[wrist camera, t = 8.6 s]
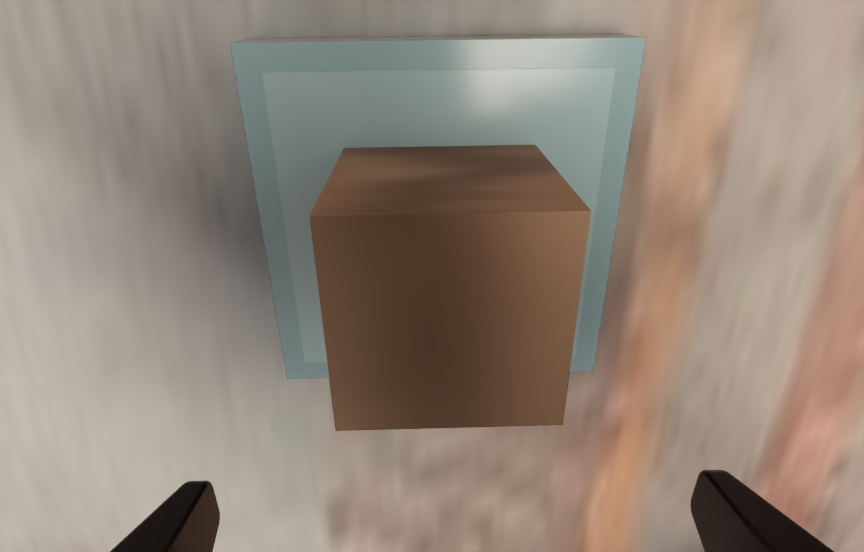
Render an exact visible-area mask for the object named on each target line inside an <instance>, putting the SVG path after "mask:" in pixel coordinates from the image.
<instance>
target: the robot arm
mask: <svg viewBox="0 0 864 552" xmlns="http://www.w3.org/2000/svg"><path fill="white" fill-rule="evenodd" d="M691 512H692V516H693V519H694V521H695V524H696V527H697V530H698V533H699V536H700V539H701V542H702V545H703V548H704V550H705V552H834V551H832V550H831V549H830V548H828V547H827V546H826V545H824V544H823V543H822V542H820V541H819V540H818V539H816V538H815V537H814V536H812V535H811V534H810V533H808V532H807V531H806V530H804V529H803V528H802V527H800V526H799V525H798V524H796V523H795V522H794V521H792V520H791V519H790V518H788V517H787V516H786V515H784V514H783V513H782V512H780V511H779V510H778V509H776V508H775V507H774V506H772V505H771V504H770V503H768V502H767V501H766V500H764V499H763V498H762V497H760V496H759V495H758V494H756V493H755V492H754V491H752V490H751V489H750V488H748V487H747V486H746V485H744V484H743V483H742V482H740V481H739V480H738V479H736V478H735V477H734V476H732V475H731V474H729V473H728V472H726V471H724V470H704V471H702V472H701V473H700V474H699V476H698V479H697V482H696V485H695V488H694V492H693V495H692V498H691ZM219 520H220V513H219V508H218V504H217V501H216V497H215V493H214V489H213V486H212V484H211V483H210V482H209V481H189V482H186V483H185V484H183V485H182V486H181V487H180V488H179V489H178V490H177V491H175V492H174V493H173V494H172V495H171V496H170V497H169V498H168V499H167V500H166V501H165V502H164V503H162V504H161V505H160V506H159V507H158V508H157V509H156V510H155V511H154V512H153V513H152V514H150V515H149V516H148V517H147V518H146V519H145V520H144V521H143V522H142V523H141V524H140V525H139V526H137V527H136V528H135V529H134V530H133V531H132V532H131V533H130V534H129V535H128V536H127V537H125V538H124V539H123V540H122V541H121V542H120V543H119V544H118V545H117V546H116V547H115V548H114V549H112V550H111V551H110V552H212V551H213V547H214V543H215V539H216V534H217V530H218V526H219Z"/></svg>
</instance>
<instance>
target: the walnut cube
mask: <svg viewBox="0 0 864 552" xmlns="http://www.w3.org/2000/svg"><path fill="white" fill-rule="evenodd" d="M590 216H591V210H590V209H589V208H588V207H587V205H586V204H585V203H584V202H583V201H582V199H581V198H580V197H579V196H578V195H577V194H576V192H575V191H574V190H573V189H572V188H571V186H570V185H569V184H568V183H567V182H566V180H565V179H564V178H563V177H562V176H561V175H560V173H559V172H558V171H557V170H556V169H555V167H554V166H553V165H552V164H551V163H550V161H549V160H548V159H547V158H546V157H545V156H544V154H543V153H542V152H541V151H540V150H539V148H538V147H537V146H536V145H488V146H428V147H368V148H344V149H343V151H342V153H341V155H340V157H339V159H338V161H337V163H336V165H335V167H334V169H333V171H332V173H331V174H330V176H329V178H328V180H327V182H326V184H325V186H324V188H323V190H322V192H321V194H320V196H319V198H318V200H317V202H316V204H315V206H314V208H313V210H312V212H311V214H310V216H309V218H310V226H311V235H312V243H313V251H314V259H315V267H316V275H317V283H318V291H319V299H320V307H321V315H322V324H323V332H324V340H325V348H326V356H327V364H328V372H329V380H330V388H331V396H332V404H333V412H334V421H335V429H336V431H342V430H381V429H420V428H459V427H498V426H537V425H563V418H564V410H565V403H566V395H567V388H568V380H569V373H570V365H571V358H572V350H573V343H574V335H575V328H576V321H577V313H578V306H579V298H580V291H581V283H582V276H583V268H584V261H585V253H586V246H587V238H588V231H589V223H590Z"/></svg>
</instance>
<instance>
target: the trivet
mask: <svg viewBox="0 0 864 552" xmlns="http://www.w3.org/2000/svg"><path fill="white" fill-rule="evenodd" d="M645 41H646V37H639V36H632V35H625V34H588V35H510V36H433V37H355V38H278V39H247V40H242V41H237V42H232V43H230V45H231V51H232V57H233V63H234V69H235V75H236V81H237V87H238V93H239V98H240V104H241V110H242V116H243V122H244V128H245V134H246V140H247V146H248V152H249V158H250V163H251V169H252V175H253V181H254V187H255V193H256V199H257V205H258V211H259V217H260V223H261V229H262V234H263V240H264V246H265V252H266V258H267V264H268V270H269V276H270V282H271V288H272V294H273V299H274V305H275V311H276V317H277V323H278V329H279V335H280V341H281V347H282V353H283V359H284V364H285V370H286V376H287V379H293V378H329V372H328V364H327V356H326V348H325V340H324V332H323V324H322V315H321V307H320V299H319V291H318V283H317V275H316V267H315V259H314V251H313V243H312V235H311V226H310V218H309V216H310V214H311V212H312V210H313V208H314V206H315V204H316V202H317V200H318V198H319V196H320V194H321V192H322V190H323V188H324V186H325V184H326V182H327V180H328V178H329V176H330V174H331V173H332V171H333V169H334V167H335V165H336V163H337V161H338V159H339V157H340V155H341V153H342V151H343V149H344V148H368V147H428V146H488V145H536V146H537V147H538V148H539V150H540V151H541V152H542V153H543V154H544V156H545V157H546V158H547V159H548V160H549V161H550V163H551V164H552V165H553V166H554V167H555V169H556V170H557V171H558V172H559V173H560V175H561V176H562V177H563V178H564V179H565V180H566V182H567V183H568V184H569V185H570V186H571V188H572V189H573V190H574V191H575V192H576V194H577V195H578V196H579V197H580V198H581V199H582V201H583V202H584V203H585V204H586V205H587V207H588V208H589V209H590V210H591V216H590V223H589V231H588V238H587V246H586V253H585V261H584V268H583V276H582V283H581V291H580V298H579V306H578V313H577V321H576V328H575V335H574V343H573V350H572V358H571V365H570V372H585V371H593V368H594V362H595V356H596V350H597V343H598V337H599V331H600V324H601V318H602V312H603V305H604V299H605V293H606V287H607V280H608V274H609V268H610V261H611V255H612V249H613V242H614V236H615V230H616V224H617V217H618V211H619V205H620V198H621V192H622V186H623V179H624V173H625V167H626V161H627V154H628V148H629V142H630V135H631V129H632V123H633V117H634V110H635V104H636V98H637V91H638V85H639V79H640V72H641V66H642V60H643V54H644V47H645Z"/></svg>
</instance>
